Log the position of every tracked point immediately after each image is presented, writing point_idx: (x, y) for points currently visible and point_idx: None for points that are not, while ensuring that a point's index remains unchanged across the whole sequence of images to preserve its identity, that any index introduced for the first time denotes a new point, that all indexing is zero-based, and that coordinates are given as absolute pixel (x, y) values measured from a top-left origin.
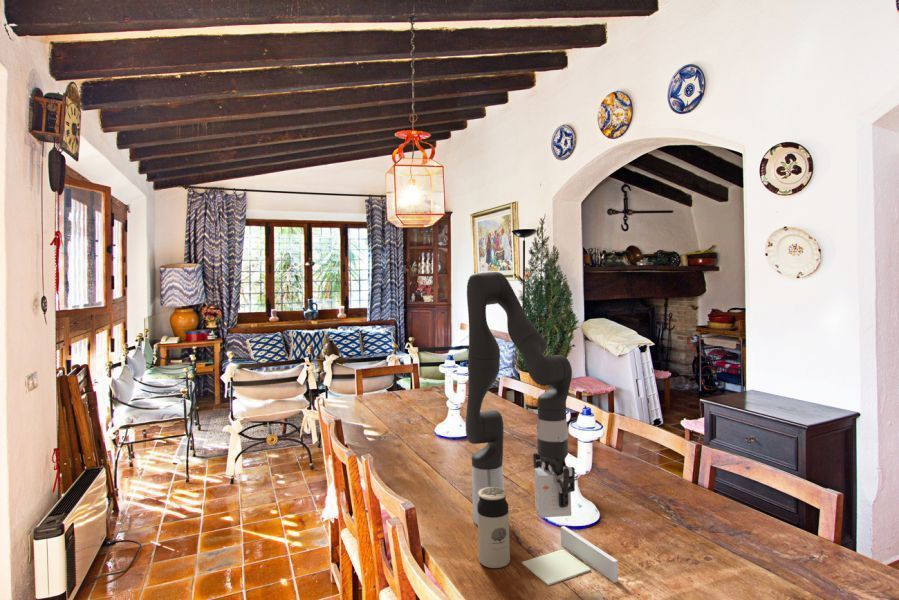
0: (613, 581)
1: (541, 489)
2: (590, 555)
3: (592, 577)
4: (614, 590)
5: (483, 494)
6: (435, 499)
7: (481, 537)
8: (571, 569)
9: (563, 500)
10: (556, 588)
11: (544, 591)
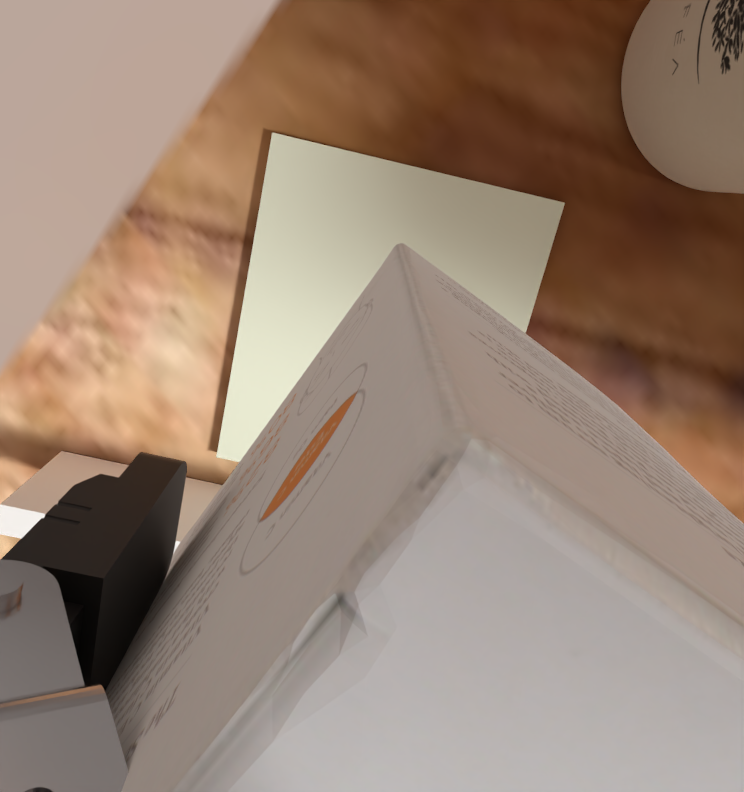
0: (66, 453)
1: (379, 356)
2: None
3: (169, 407)
4: (11, 392)
5: None
6: None
7: None
8: (286, 372)
9: (52, 518)
10: (221, 152)
11: (246, 63)
